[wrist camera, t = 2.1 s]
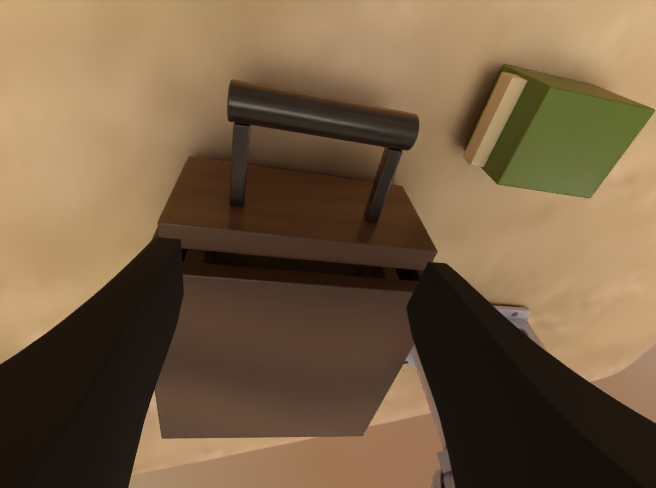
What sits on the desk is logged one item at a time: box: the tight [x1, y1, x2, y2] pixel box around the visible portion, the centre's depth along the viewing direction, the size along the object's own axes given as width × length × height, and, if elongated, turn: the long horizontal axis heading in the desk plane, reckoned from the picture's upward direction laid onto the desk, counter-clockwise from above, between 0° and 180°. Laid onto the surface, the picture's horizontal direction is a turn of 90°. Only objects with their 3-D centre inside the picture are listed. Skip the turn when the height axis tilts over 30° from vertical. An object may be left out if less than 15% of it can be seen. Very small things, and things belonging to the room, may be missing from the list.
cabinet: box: [151, 227, 423, 439], centre depth 22 cm, size 14×13×8 cm
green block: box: [463, 64, 655, 198], centre depth 18 cm, size 7×4×4 cm, turn 78°
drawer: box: [158, 80, 437, 280], centre depth 19 cm, size 17×11×6 cm, turn 168°
